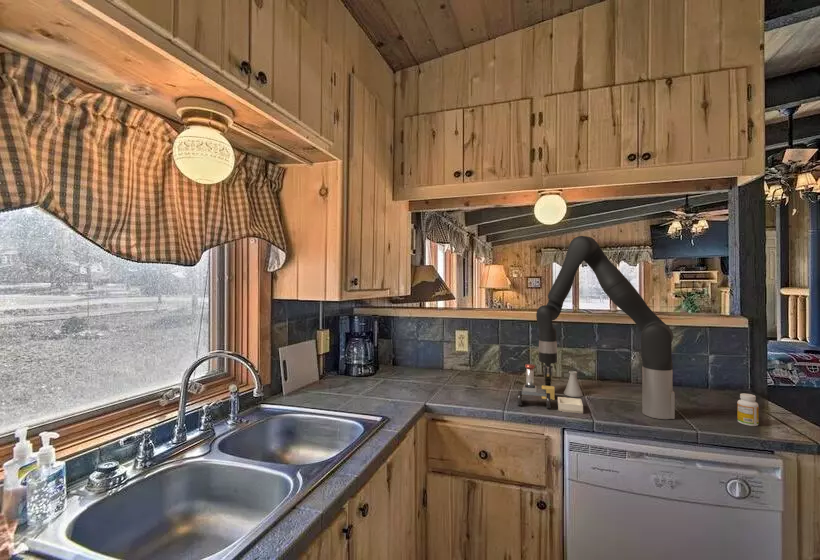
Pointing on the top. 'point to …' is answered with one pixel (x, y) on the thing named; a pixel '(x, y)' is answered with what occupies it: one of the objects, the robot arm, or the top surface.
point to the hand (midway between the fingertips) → (548, 390)
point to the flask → (573, 386)
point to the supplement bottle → (747, 410)
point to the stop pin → (529, 375)
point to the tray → (570, 405)
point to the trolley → (534, 392)
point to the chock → (549, 391)
